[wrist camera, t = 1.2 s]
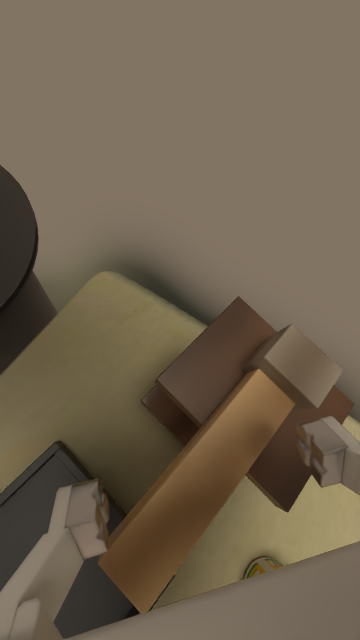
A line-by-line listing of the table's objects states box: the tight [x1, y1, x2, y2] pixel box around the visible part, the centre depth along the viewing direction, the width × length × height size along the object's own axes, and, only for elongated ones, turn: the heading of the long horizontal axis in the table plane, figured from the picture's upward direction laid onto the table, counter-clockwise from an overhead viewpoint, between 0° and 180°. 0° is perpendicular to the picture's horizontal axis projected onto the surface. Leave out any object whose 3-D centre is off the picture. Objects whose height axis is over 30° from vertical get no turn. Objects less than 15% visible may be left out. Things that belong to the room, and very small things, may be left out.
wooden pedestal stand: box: [141, 297, 354, 512], centre depth 28 cm, size 11×9×18 cm
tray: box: [0, 441, 175, 639], centre depth 26 cm, size 18×24×2 cm
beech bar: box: [98, 324, 343, 614], centre depth 16 cm, size 4×16×4 cm, turn 137°
